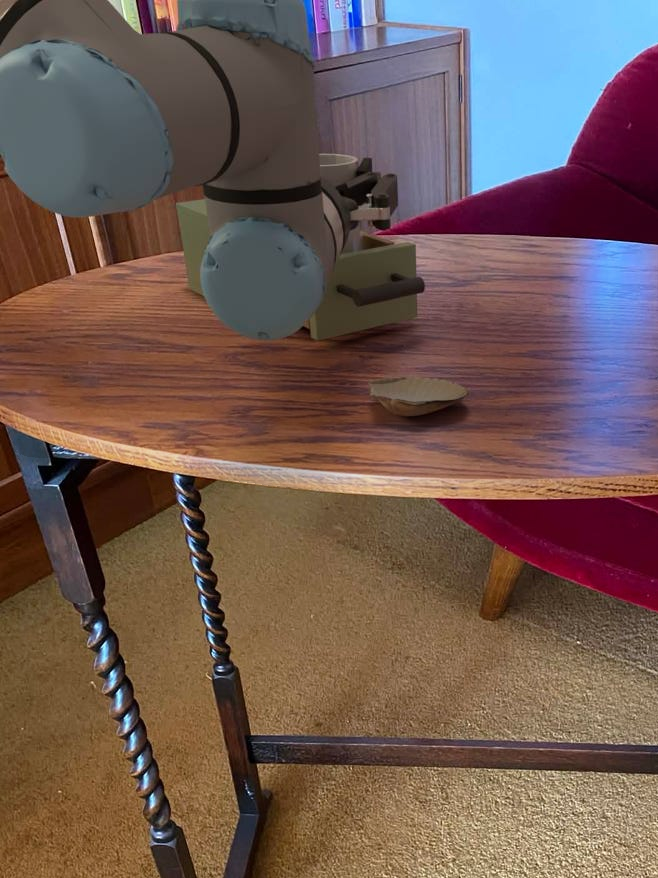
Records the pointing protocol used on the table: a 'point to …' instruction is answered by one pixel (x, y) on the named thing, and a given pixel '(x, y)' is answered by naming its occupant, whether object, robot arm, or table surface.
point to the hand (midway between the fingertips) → (332, 173)
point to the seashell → (416, 394)
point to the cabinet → (193, 238)
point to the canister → (343, 171)
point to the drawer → (368, 289)
